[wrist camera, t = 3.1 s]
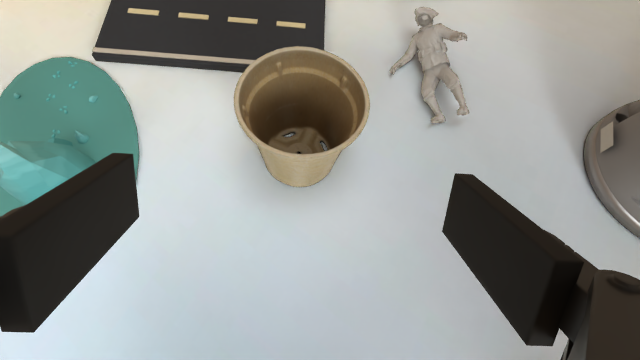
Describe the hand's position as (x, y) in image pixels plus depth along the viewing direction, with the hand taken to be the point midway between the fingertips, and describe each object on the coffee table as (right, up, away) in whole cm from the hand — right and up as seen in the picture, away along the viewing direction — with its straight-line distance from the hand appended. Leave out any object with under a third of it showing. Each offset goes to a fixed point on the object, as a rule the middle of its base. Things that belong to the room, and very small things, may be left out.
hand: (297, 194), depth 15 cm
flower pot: (-1, +3, +18) cm, 19 cm away
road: (-10, +17, +24) cm, 31 cm away
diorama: (-21, +3, +17) cm, 27 cm away
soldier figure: (+12, +11, +23) cm, 29 cm away
